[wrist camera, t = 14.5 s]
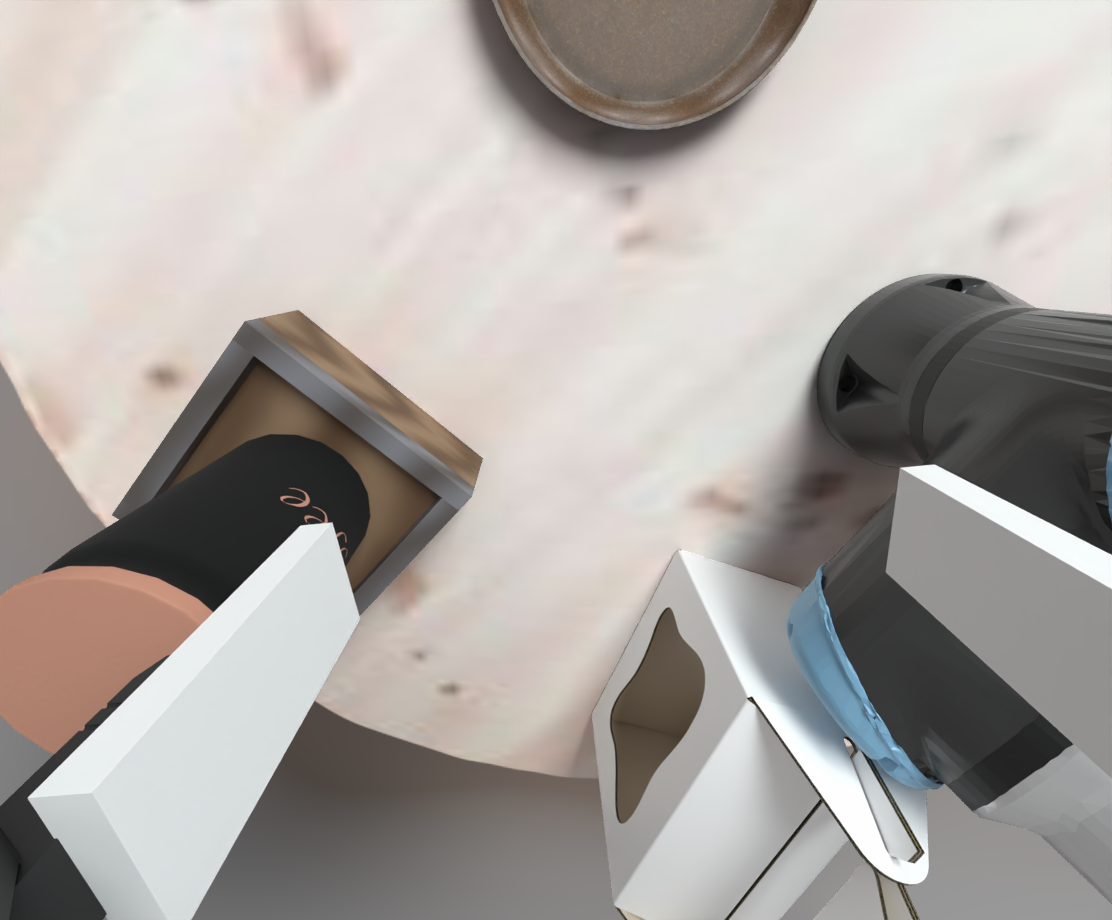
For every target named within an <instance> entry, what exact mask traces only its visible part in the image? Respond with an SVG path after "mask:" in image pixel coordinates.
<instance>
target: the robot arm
mask: <svg viewBox="0 0 1112 920" xmlns="http://www.w3.org/2000/svg"><path fill="white" fill-rule="evenodd" d="M817 395H818V404H819V409H820V412H821V415H822V418H823V420H824V423H825V425H826V426H827V428H828V430H829V431H830V432H831V434H832V435H833V436H834V437H835V438H836V439H837V440H838V441H839V442H840V443H841V444H842V445H843V446H845V447H846V448H848V449H850V450H851V451H853V452H855V453H856V454H858V455H859V456H861V457H863V458H865V459H867V460H869V461H871V462H874V463H877V464H880V465H884V466H889V467H896V468H900V472H899V479H898V486H897V491H896V492H895V493H894V494H893V495H892V496H891V497H890V498H889V499H888V500H887V501H886V502H885V503H884V504H883V506H882V507H881V508H880V509H879V510H878V511H877V512H876V513H875V514H874V515H873V516H872V517H871V518H870V519H869V520H868V521H867V522H866V523H865V525H864V526H863V527H862V528H861V529H860V530H859V531H858V532H857V533H856V534H855V535H854V536H853V537H852V538H851V539H850V540H849V541H848V542H847V543H846V545H845V546H844V547H843V548H842V549H841V550H840V551H839V552H838V553H837V554H836V555H835V556H834V557H833V558H832V559H831V560H830V561H829V562H828V563H824V564H822V565H821V566H820V567H819V568H818V570H817V571H816V575H815V578H814V579H813V580H812V581H811V582H810V584H809V585H808V586H807V587H806V588H805V589H804V591H803V592H802V593H801V594H800V595H799V597H798V598H797V599H796V600H795V601H794V603H793V604H792V605H791V607H790V609H789V611H788V615H787V620H786V628H787V636H788V639H789V641H790V646H791V650H792V653H793V655H794V657H795V660H796V662H797V664H798V666H799V668H800V670H801V671H802V673H803V675H804V677H805V679H806V680H807V682H808V683H809V685H810V687H811V688H812V690H813V691H814V693H815V694H816V696H817V697H818V699H819V700H820V702H821V703H822V704H823V706H824V707H825V708H826V710H827V711H828V712H829V714H830V715H831V716H832V717H833V719H834V720H835V721H836V723H837V724H838V725H839V726H840V727H841V729H842V730H843V731H844V732H845V733H846V734H847V736H848V737H849V738H850V739H851V740H852V741H853V742H854V743H855V744H856V745H857V746H858V747H859V748H860V749H861V750H862V751H863V752H864V753H865V754H866V755H867V756H868V757H869V758H870V759H874V760H877V761H878V763H879V764H880V765H881V767H882V768H883V769H884V771H885V772H886V773H887V774H889V775H890V776H891V777H893V778H894V779H895V780H897V781H898V782H900V783H902V784H904V785H906V786H908V787H910V788H914V789H917V790H926V789H938V788H940V787H941V786H942V785H943V784H944V783H945V784H946V785H947V786H948V787H949V788H950V789H951V790H952V791H953V792H954V793H955V794H956V795H957V796H958V797H959V798H960V799H961V800H962V801H963V802H964V803H965V804H966V805H967V806H968V807H969V808H970V809H971V810H972V811H973V812H974V813H975V814H976V815H977V816H979V817H980V818H983V819H987V820H992V821H996V822H1000V823H1004V824H1009V825H1013V826H1017V827H1021V828H1026V829H1028V830H1030V831H1032V832H1034V833H1036V834H1038V835H1040V836H1041V837H1042V838H1044V840H1046V841H1047V842H1048V843H1049V844H1050V845H1051V846H1052V847H1053V848H1054V849H1055V850H1056V851H1057V852H1058V853H1059V854H1060V855H1061V856H1062V857H1063V858H1064V859H1065V860H1067V862H1068V863H1070V865H1072V866H1073V867H1074V868H1075V869H1076V870H1077V871H1078V872H1079V873H1080V874H1081V875H1082V876H1083V877H1084V878H1085V879H1086V880H1087V881H1088V882H1089V883H1090V884H1091V885H1092V886H1093V887H1094V888H1096V889H1097V890H1098V891H1099V892H1100V893H1101V894H1102V895H1103V896H1104V897H1105V898H1106V899H1107V900H1108V901H1109V902H1110V903H1111V904H1112V315H1108V314H1096V313H1085V312H1074V311H1063V310H1049V309H1039V308H1035V307H1033V306H1032V305H1030V304H1028V303H1026V302H1024V301H1023V300H1021V299H1019V298H1017V297H1016V296H1014V295H1012V294H1010V293H1009V292H1007V291H1005V290H1003V289H1002V288H1000V287H998V286H996V285H995V284H993V283H991V282H988V281H986V280H983V279H979V278H976V277H971V276H966V275H951V274H926V275H919V276H914V277H910V278H906V279H903V280H900V281H898V282H895V283H893V284H891V285H889V286H887V287H885V288H883V289H881V290H879V291H878V292H876V293H875V294H873V295H872V296H870V297H869V298H868V299H866V300H865V301H864V302H862V303H861V304H860V305H859V306H858V307H857V308H856V309H855V310H854V311H853V312H852V313H851V314H850V315H849V316H848V317H847V318H846V319H845V321H844V322H843V323H842V324H841V326H840V327H839V328H838V330H837V331H836V333H835V334H834V336H833V338H832V339H831V341H830V343H829V345H828V347H827V350H826V352H825V354H824V357H823V360H822V363H821V366H820V371H819V376H818V386H817ZM359 620H360V617H359V613H358V610H357V606H356V603H355V599H354V596H353V592H352V589H351V585H350V582H349V578H348V575H347V572H346V568H345V565H344V561H343V558H342V554H341V551H340V547H339V544H338V540H337V537H336V533H335V530H334V527H333V523H322V524H312V525H302V526H300V527H299V528H298V529H297V530H296V531H295V532H294V533H293V534H292V535H291V536H290V537H289V538H288V539H287V540H286V541H285V542H284V543H283V544H282V545H281V546H280V547H279V548H278V549H277V550H276V551H275V552H274V553H273V554H272V555H271V556H270V557H269V558H268V559H267V560H266V561H265V562H264V563H263V564H262V565H261V566H260V567H259V568H258V569H257V570H256V571H255V572H254V573H253V574H252V575H251V576H250V577H249V578H248V579H247V580H246V581H245V582H244V583H243V584H242V585H241V586H240V587H239V588H238V589H237V590H236V591H235V592H234V593H233V594H232V595H231V596H230V597H229V598H228V599H227V600H226V601H225V602H223V603H222V604H221V605H220V606H219V607H218V608H217V609H216V610H215V611H214V612H213V613H212V614H211V615H210V616H209V617H208V618H207V619H206V620H205V621H204V622H203V623H202V624H201V625H200V626H199V627H198V628H197V629H196V630H195V631H194V632H193V633H192V634H191V635H190V636H189V637H188V638H187V639H186V640H185V641H184V642H183V643H182V644H181V645H180V646H179V647H178V648H177V649H176V650H175V651H174V652H173V653H172V654H171V655H167V656H165V657H164V658H162V659H161V660H159V661H158V662H156V663H155V664H153V665H152V666H150V667H149V668H148V669H146V670H145V671H143V672H142V673H140V674H139V675H137V676H136V677H134V678H133V679H132V680H131V681H130V682H129V683H128V684H127V685H126V686H125V687H124V688H123V689H122V690H120V691H119V692H118V693H117V694H116V695H115V696H114V697H113V698H112V699H111V700H110V701H109V702H108V703H107V707H106V708H103V709H101V710H100V711H99V712H98V713H97V714H96V715H95V716H94V717H92V718H91V719H90V720H89V721H88V722H87V723H86V724H85V725H84V726H85V728H84V730H83V731H78V732H77V733H76V734H75V735H74V736H73V737H72V738H71V739H70V740H69V741H68V742H67V743H65V744H64V745H63V746H62V747H61V748H60V749H59V750H58V751H57V752H56V753H55V754H54V755H53V756H52V757H51V758H50V759H49V760H48V761H47V762H46V763H45V764H44V765H43V766H42V767H41V768H40V769H39V770H37V772H35V773H34V774H33V775H32V776H31V777H30V778H29V779H28V780H27V781H26V782H25V783H24V784H23V785H22V786H21V787H20V788H19V789H18V790H17V791H16V792H15V793H14V794H13V795H12V796H10V797H9V798H8V799H7V800H6V801H5V802H4V803H3V804H2V805H1V806H0V920H103V919H104V917H105V916H106V918H107V919H108V920H191V919H192V917H193V915H194V914H195V912H196V910H197V908H198V906H199V905H200V903H201V901H202V899H203V898H204V896H205V894H206V892H207V891H208V889H209V887H210V885H211V883H212V882H213V880H214V878H215V876H216V875H217V873H218V871H219V869H220V867H221V866H222V864H223V862H224V860H225V858H226V857H227V855H228V853H229V851H230V850H231V848H232V846H233V844H234V842H235V841H236V839H237V837H238V835H239V833H240V832H241V830H242V828H243V827H244V825H245V823H246V821H247V819H248V818H249V815H250V814H251V812H252V811H253V809H254V807H255V805H256V803H257V802H258V800H259V798H260V796H261V794H262V793H263V791H264V789H265V787H266V786H267V784H268V782H269V780H270V778H271V777H272V775H273V773H274V771H275V770H276V768H277V766H278V764H279V763H280V761H281V759H282V757H283V755H284V754H285V752H286V750H287V748H288V746H289V745H290V743H291V741H292V739H293V738H294V736H295V734H296V732H297V730H298V729H299V727H300V725H301V723H302V722H303V720H304V718H305V716H306V714H307V713H308V711H309V709H310V707H311V706H312V704H313V702H314V700H315V698H316V697H317V695H318V693H319V691H320V690H321V688H322V686H323V684H324V682H325V681H326V679H327V677H328V675H329V674H330V672H331V670H332V668H333V666H334V665H335V663H336V661H337V659H338V658H339V656H340V654H341V652H342V650H343V649H344V647H345V645H346V643H347V642H348V640H349V638H350V636H351V634H352V633H353V631H354V629H355V627H356V626H357V624H358V622H359Z"/></svg>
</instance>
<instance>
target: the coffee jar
mask: <svg viewBox="0 0 1112 920" xmlns="http://www.w3.org/2000/svg"><path fill="white" fill-rule="evenodd" d="M369 520H370V507H369V498H368V492H367V490H366V488H365V486H364V484H363V482H362V480H361V477H360V475H359V473H358V472H357V471H356V470H355V469H354V468H353V466H352V465H351V464H350V463H349V462H348V461H347V460H346V459H345V458H344V456H343V455H341V454H339V453H338V452H336V451H335V450H333V449H332V448H330V447H328V446H327V445H325V444H324V443H322V442H319V441H316V440H313V439H309V438H306V437H303V436H300V435H288V434H269V435H265V436H262V437H259V438H255V439H252V440H249V441H246V442H245V443H243V444H242V445H240V446H238V447H237V448H235V449H233V450H232V451H230V452H229V453H227V454H225V455H224V456H222V457H220V458H219V459H217V460H216V461H214V462H212V463H211V464H209V465H207V466H206V467H204V468H203V469H201V470H199V471H198V472H196V473H195V474H193V475H191V476H190V477H188V478H186V479H185V480H183V481H182V482H180V483H178V484H177V485H175V486H173V487H172V488H170V489H169V490H167V491H165V492H164V493H162V494H160V495H159V496H157V497H156V498H154V499H152V500H151V501H149V502H148V503H146V504H144V505H143V506H141V507H139V508H138V509H136V510H135V511H133V512H131V513H130V514H128V515H126V516H125V517H123V518H122V519H120V520H118V521H117V522H115V523H113V524H112V525H110V526H109V527H107V528H105V529H104V530H102V531H101V532H99V533H97V534H96V535H94V536H93V537H91V538H89V539H88V540H86V541H84V542H83V543H81V544H79V545H78V546H76V547H75V548H73V549H71V550H70V551H69V552H68V553H66V554H65V555H64V556H62V557H61V558H60V559H58V560H57V561H56V562H55V563H53V564H52V565H50V566H49V567H48V568H47V569H46V570H45V571H44V572H43V573H42V574H40V575H36V576H32V577H30V578H28V579H26V580H24V581H22V582H20V583H18V584H16V585H14V586H12V587H11V588H10V589H8V590H7V591H6V592H4V593H3V594H2V595H1V596H0V715H1V716H2V717H3V718H4V719H5V720H6V721H7V722H8V723H9V724H10V726H11V727H12V728H13V729H15V730H16V731H18V732H19V733H21V734H22V735H24V736H25V737H27V738H28V739H30V740H31V741H33V742H34V743H36V744H37V745H39V746H40V747H42V748H43V749H45V750H46V751H48V752H50V753H52V754H55V753H56V752H57V751H58V750H59V749H60V748H61V747H62V746H63V745H64V744H65V743H67V742H68V741H69V740H70V739H71V738H72V737H73V736H74V735H75V734H76V733H77V732H78V731H83V730H84V728H85V726H84V725H85V724H86V723H87V722H88V721H89V720H90V719H91V718H92V717H94V716H95V715H96V714H97V713H98V712H99V711H100V710H101V709H103V708H106V707H107V703H108V702H109V701H110V700H111V699H112V698H113V697H114V696H115V695H116V694H117V693H118V692H119V691H120V690H122V689H123V688H124V687H125V686H126V685H127V684H128V683H129V682H130V681H131V680H132V679H133V678H134V677H136V676H137V675H139V674H140V673H142V672H143V671H145V670H146V669H148V668H149V667H150V666H152V665H153V664H155V663H156V662H158V661H159V660H161V659H162V658H164V657H165V656H167V655H171V654H172V653H173V652H174V651H175V650H176V649H177V648H178V647H179V646H180V645H181V644H182V643H183V642H184V641H185V640H186V639H187V638H188V637H189V636H190V635H191V634H192V633H193V632H194V631H195V630H196V629H197V628H198V627H199V626H200V625H201V624H202V623H203V622H204V621H205V620H206V619H207V618H208V617H209V616H210V615H211V614H212V613H213V612H214V611H215V610H216V609H217V608H218V607H219V606H220V605H221V604H222V603H223V602H225V601H226V600H227V599H228V598H229V597H230V596H231V595H232V594H233V593H234V592H235V591H236V590H237V589H238V588H239V587H240V586H241V585H242V584H243V583H244V582H245V581H246V580H247V579H248V578H249V577H250V576H251V575H252V574H253V573H254V572H255V571H256V570H257V569H258V568H259V567H260V566H261V565H262V564H263V563H264V562H265V561H266V560H267V559H268V558H269V557H270V556H271V555H272V554H273V553H274V552H275V551H276V550H277V549H278V548H279V547H280V546H281V545H282V544H283V543H284V542H285V541H286V540H287V539H288V538H289V537H290V536H291V535H292V534H293V533H294V532H295V531H296V530H297V529H298V528H299V527H300V526H302V525H312V524H322V523H333V527H334V530H335V533H336V537H337V540H338V544H339V547H340V551H341V554H342V558H343V561H344V565H345V567H346V565H347V564H348V562H349V560H350V559H351V557H352V556H353V554H354V553H355V551H356V549H357V548H358V546H359V545H360V543H361V542H362V540H363V538H364V537H365V535H366V532H367V528H368V524H369Z"/></svg>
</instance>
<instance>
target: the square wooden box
mask: <svg viewBox="0 0 1112 920" xmlns="http://www.w3.org/2000/svg"><path fill="white" fill-rule="evenodd" d="M269 434H288V435H300V436H303V437H306V438H309V439H313V440H316V441H319V442H322V443H324V444H325V445H327V446H328V447H330V448H332V449H333V450H335V451H336V452H338V453H339V454H341V455H343V456H344V458H345V459H346V460H347V461H348V462H349V463H350V464H351V465H352V466H353V468H354V469H355V470H356V471H357V472H358V473H359V475H360V477H361V480H362V482H363V484H364V486H365V488H366V490H367V492H368V498H369V507H370V520H369V524H368V528H367V532H366V535H365V537H364V538H363V540H362V542H361V543H360V545H359V546H358V548H357V549H356V551H355V553H354V554H353V556H352V557H351V559H350V560H349V562H348V564H347V565H346V567H345V568H346V572H347V575H348V578H349V582H350V585H351V589H352V592H353V596H354V599H355V603H356V606H357V610H358V613H359V616H360V615H361V614H362V613H363V612H364V611H365V610H366V609H367V608H368V606H369V605H370V604H371V603H372V602H373V601H374V600H375V599H376V598H377V597H378V596H379V595H380V594H381V593H382V592H383V590H384V589H385V588H386V587H387V586H388V585H389V584H390V583H391V582H392V581H393V580H394V579H395V578H396V577H397V576H398V575H399V573H400V572H401V571H402V570H403V569H404V568H405V567H406V566H407V565H408V564H409V563H410V562H411V561H412V560H413V559H414V557H415V556H416V555H417V554H418V553H419V552H420V551H421V550H422V549H423V548H424V547H425V546H426V545H427V544H428V543H429V542H430V540H431V539H432V538H433V537H434V536H435V535H436V534H437V533H438V532H439V531H440V530H441V529H442V528H443V527H444V526H445V524H446V523H447V522H448V521H449V520H450V519H451V518H452V517H453V516H454V515H455V514H456V513H457V512H458V511H459V510H460V509H461V507H462V506H463V505H464V504H465V503H466V502H467V501H468V500H469V499H470V498H471V497H472V494H473V491H474V487H475V484H476V480H477V477H478V473H479V470H480V466H481V463H482V459H483V458H482V457H480V456H479V455H478V454H477V453H475V452H474V451H473V450H472V449H470V448H469V447H468V446H467V445H465V444H464V443H463V442H462V441H461V440H459V439H458V438H457V437H456V436H454V435H453V434H452V433H451V432H449V431H448V430H447V429H446V428H444V427H443V426H442V425H441V424H439V423H438V422H437V421H436V420H434V419H433V418H432V417H431V416H429V415H428V414H427V413H426V412H424V411H423V410H422V409H421V408H419V407H418V406H417V405H416V404H414V403H413V402H412V401H411V400H409V399H408V398H407V397H406V396H404V395H403V394H402V393H401V392H400V391H398V390H397V389H396V388H395V387H393V386H392V385H391V384H390V383H388V382H387V381H386V380H385V379H383V378H382V377H381V376H380V375H378V374H377V373H376V372H375V371H373V370H372V369H371V368H370V367H368V366H367V365H366V364H365V363H363V362H362V361H361V360H360V359H358V358H357V357H356V356H355V355H353V354H352V353H351V352H350V351H348V350H347V349H346V348H345V347H343V346H342V345H341V344H340V343H338V342H337V341H336V340H335V339H334V338H332V337H331V336H330V335H329V334H327V333H326V332H325V331H324V330H322V329H321V328H320V327H319V326H317V325H316V324H315V323H314V322H312V321H311V320H310V319H309V318H307V317H306V316H305V315H304V314H302V313H301V312H300V311H299V310H297V311H292V312H287V313H283V314H278V315H273V316H268V317H263V318H258V319H254V320H249V321H245V322H244V323H243V325H242V326H241V328H240V329H239V331H238V332H237V334H236V335H235V336H234V338H233V339H232V341H231V342H230V344H229V345H228V347H227V348H226V350H225V351H224V352H223V354H222V355H221V357H220V358H219V360H218V361H217V363H216V364H215V366H214V367H213V368H212V370H211V371H210V373H209V374H208V376H207V377H206V379H205V380H204V382H203V383H202V384H201V386H200V387H199V389H198V390H197V392H196V393H195V395H194V396H193V398H192V399H191V401H190V402H189V403H188V405H187V406H186V408H185V409H184V411H183V412H182V414H181V415H180V417H179V418H178V419H177V421H176V422H175V424H174V425H173V427H172V428H171V430H170V431H169V433H168V434H167V435H166V437H165V438H164V440H163V441H162V443H161V444H160V446H159V447H158V449H157V450H156V451H155V453H154V454H153V456H152V457H151V459H150V460H149V462H148V463H147V465H146V466H145V467H144V469H143V470H142V472H141V473H140V475H139V476H138V478H137V479H136V481H135V482H134V484H133V485H132V486H131V488H130V489H129V491H128V492H127V494H126V495H125V497H124V498H123V500H122V501H121V502H120V504H119V505H118V507H117V508H116V510H115V511H114V513H113V514H112V515H113V516H114V517H116V518H118V519H119V520H120V519H122V518H123V517H125V516H126V515H128V514H130V513H131V512H133V511H135V510H136V509H138V508H139V507H141V506H143V505H144V504H146V503H148V502H149V501H151V500H152V499H154V498H156V497H157V496H159V495H160V494H162V493H164V492H165V491H167V490H169V489H170V488H172V487H173V486H175V485H177V484H178V483H180V482H182V481H183V480H185V479H186V478H188V477H190V476H191V475H193V474H195V473H196V472H198V471H199V470H201V469H203V468H204V467H206V466H207V465H209V464H211V463H212V462H214V461H216V460H217V459H219V458H220V457H222V456H224V455H225V454H227V453H229V452H230V451H232V450H233V449H235V448H237V447H238V446H240V445H242V444H243V443H245V442H246V441H249V440H252V439H255V438H259V437H262V436H265V435H269Z"/></svg>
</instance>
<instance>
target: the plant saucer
mask: <svg viewBox="0 0 1112 920" xmlns="http://www.w3.org/2000/svg"><path fill="white" fill-rule="evenodd" d="M492 1H493V3H494V6H495V9H496V11H497V14H498V16H499V18H500V21H501V23H502V25H503V27H504V29H505V31H506V33H507V35H508V37H509V38H510V40H511V42H512V44H513V45H514V47H515V49H516V50H517V52H518V53H519V55H520V56H521V58H522V59H523V60H524V62H525V63H526V64H527V66H528V67H529V68H530V69H531V71H532V72H533V73H534V74H535V75H536V76H537V78H538V79H539V80H540V81H541V82H542V83H543V84H544V85H545V86H546V87H547V88H548V89H549V90H551V91H552V92H553V93H554V94H555V95H556V96H558V97H559V98H560V99H561V100H563V101H564V102H565V103H567V104H568V105H570V106H571V107H573V108H574V109H576V110H578V111H579V112H581V113H583V114H585V115H587V116H589V117H591V118H593V119H596V120H599V121H601V122H604V123H607V124H610V125H614V126H618V127H622V128H628V129H638V130H658V129H667V128H673V127H679V126H682V125H686V124H690V123H693V122H696V121H698V120H701V119H704V118H706V117H708V116H711V115H713V114H715V113H717V112H719V111H720V110H722V109H724V108H726V107H728V106H729V105H731V104H732V103H734V102H735V101H737V100H738V99H740V98H741V97H742V96H744V95H745V94H746V93H747V92H749V91H750V90H751V89H752V88H754V87H755V86H756V85H757V84H758V83H759V82H760V81H761V80H762V79H763V78H764V77H765V76H766V75H767V74H768V73H769V72H770V71H771V70H772V69H773V67H774V66H775V65H776V64H777V63H778V62H779V61H780V59H781V58H782V57H783V56H784V54H785V53H786V52H787V51H788V49H789V48H790V47H791V45H792V44H793V42H794V41H795V39H796V38H797V36H798V34H799V33H800V31H801V29H802V28H803V26H804V24H805V23H806V21H807V19H808V17H809V15H810V13H811V12H812V10H813V8H814V5H815V3H816V1H817V0H492Z"/></svg>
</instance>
